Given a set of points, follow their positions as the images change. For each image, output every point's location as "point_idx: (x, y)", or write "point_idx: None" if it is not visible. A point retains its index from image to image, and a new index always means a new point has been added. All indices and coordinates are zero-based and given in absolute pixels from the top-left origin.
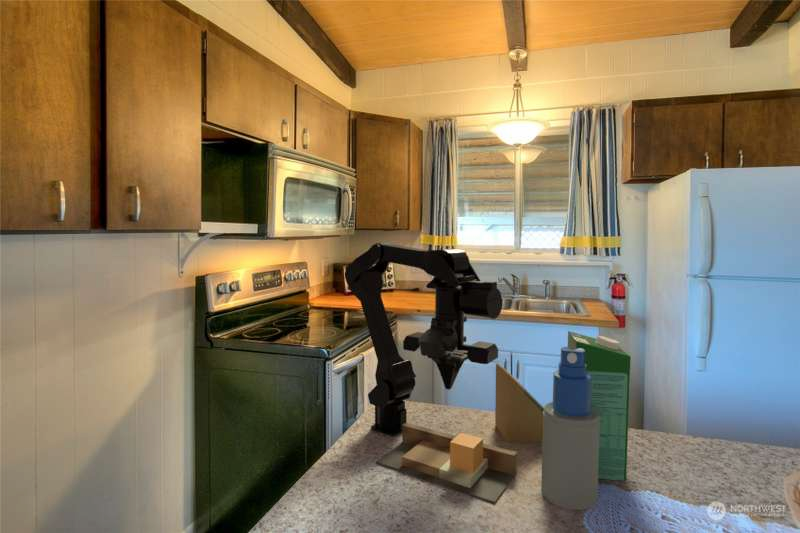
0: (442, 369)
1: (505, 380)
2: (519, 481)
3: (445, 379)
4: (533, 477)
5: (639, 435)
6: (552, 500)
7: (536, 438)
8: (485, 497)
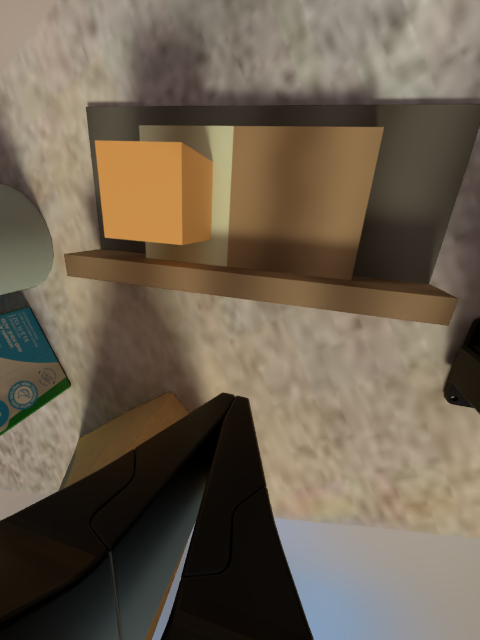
0: (217, 519)
1: None
2: (89, 237)
3: (223, 433)
4: None
5: (15, 474)
6: (11, 189)
7: (122, 416)
8: (109, 113)
